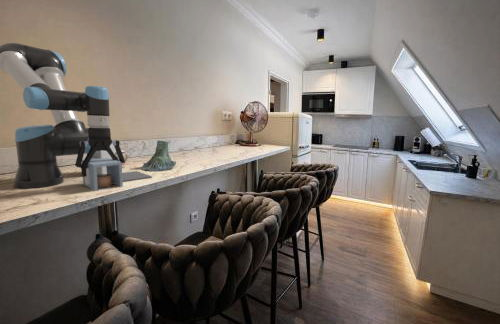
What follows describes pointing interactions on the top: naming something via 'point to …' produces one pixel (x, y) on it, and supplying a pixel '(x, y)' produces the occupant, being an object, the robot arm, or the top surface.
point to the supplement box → (102, 155)
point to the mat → (134, 176)
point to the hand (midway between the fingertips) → (102, 182)
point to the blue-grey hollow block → (112, 168)
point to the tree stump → (159, 159)
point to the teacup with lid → (123, 156)
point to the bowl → (104, 180)
